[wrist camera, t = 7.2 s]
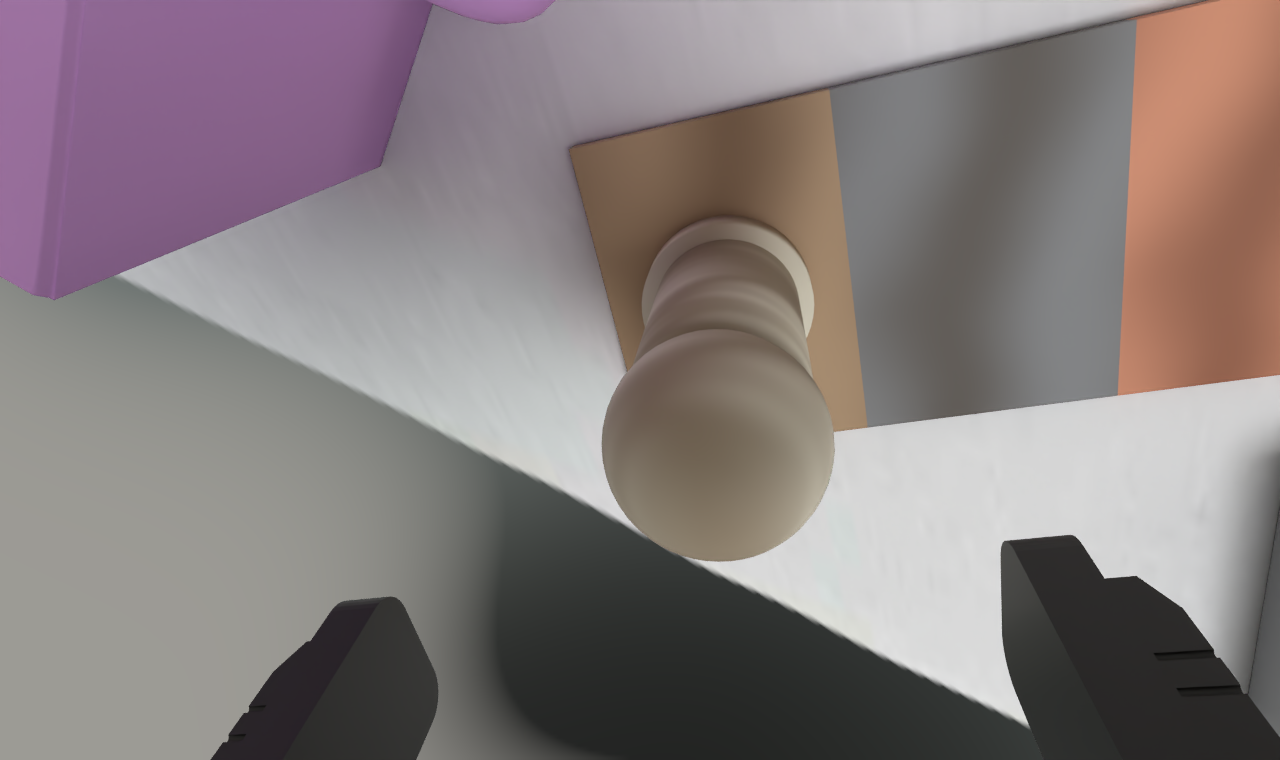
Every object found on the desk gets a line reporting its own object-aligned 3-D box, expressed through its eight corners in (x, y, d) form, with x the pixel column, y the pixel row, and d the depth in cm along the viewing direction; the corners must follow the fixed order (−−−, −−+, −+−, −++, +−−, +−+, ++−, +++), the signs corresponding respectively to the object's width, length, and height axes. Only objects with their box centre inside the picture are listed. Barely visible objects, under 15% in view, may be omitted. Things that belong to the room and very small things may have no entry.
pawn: (799, 199, 20) (844, 361, 10) (821, 357, 22) (874, 611, 12) (629, 233, 21) (533, 407, 11) (665, 381, 23) (607, 631, 13)
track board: (1911, -162, 14) (1955, -168, 14) (1716, 306, 18) (1745, 315, 18) (573, 146, 20) (568, 149, 20) (651, 445, 24) (649, 455, 24)
